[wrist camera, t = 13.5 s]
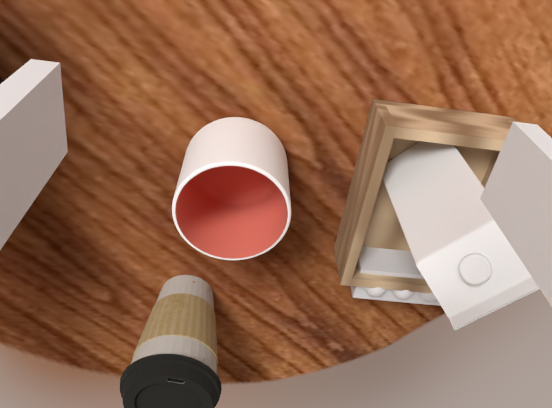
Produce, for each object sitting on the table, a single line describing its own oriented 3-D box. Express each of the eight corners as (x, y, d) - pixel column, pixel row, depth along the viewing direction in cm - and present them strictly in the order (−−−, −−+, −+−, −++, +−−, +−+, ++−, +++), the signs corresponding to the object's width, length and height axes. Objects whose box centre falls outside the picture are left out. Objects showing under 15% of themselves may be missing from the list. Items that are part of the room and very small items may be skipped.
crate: (333, 248, 58) (340, 285, 53) (372, 99, 48) (385, 125, 43) (452, 260, 59) (470, 297, 54) (513, 117, 49) (541, 145, 44)
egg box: (347, 273, 58) (354, 305, 54) (355, 245, 56) (363, 277, 52) (431, 281, 59) (444, 313, 55) (442, 254, 57) (457, 286, 53)
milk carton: (474, 176, 52) (568, 312, 36) (412, 213, 54) (475, 356, 38) (441, 126, 49) (528, 250, 33) (377, 167, 51) (429, 301, 35)
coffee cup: (139, 315, 63) (108, 426, 50) (153, 254, 58) (123, 361, 45) (217, 330, 65) (207, 441, 52) (237, 273, 59) (231, 381, 47)
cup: (252, 93, 48) (250, 140, 39) (304, 172, 52) (312, 230, 44) (166, 144, 50) (146, 198, 42) (223, 215, 55) (216, 277, 47)
